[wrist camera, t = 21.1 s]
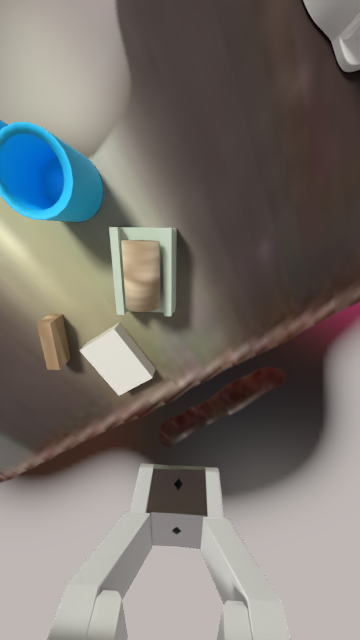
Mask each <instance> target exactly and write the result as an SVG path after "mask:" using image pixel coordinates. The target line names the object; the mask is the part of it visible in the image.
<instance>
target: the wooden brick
mask: <svg viewBox="0 0 360 640" xmlns="http://www.w3.org/2000/svg"><path fill="white" fill-rule="evenodd" d="M37 326H38V331H39V335H40V339H41V344H42V348H43V352H44V357H45V361H46V365H47V369H51V370H60V369H61V368H62V367H63V366H64V365H65V364H66V363H67V362H68V361H69V360H70V359H71V357H70V351H69V346H68V340H67V335H66V330H65V324H64V319H63V315H62V314H50V315H48V316H47V317H45V318H43V319H41V320H40V321H38V322H37Z"/></svg>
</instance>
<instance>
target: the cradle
mask: <svg viewBox="0 0 360 640" xmlns="http://www.w3.org/2000/svg"><path fill="white" fill-rule="evenodd" d="M109 233H110V244H111V255H112V266H113V277H114V288H115V298H116V309H117V315H125V313H126V312H127V311H130V310H128V309H127V308H126V302H125V288H124V273H123V259H122V245H121V241H123V240H153V241H160V308H159V309H157V310H154V311H149V312H164V316H172V313H175V308H176V248H177V228H136V227H109Z"/></svg>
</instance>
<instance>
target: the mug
mask: <svg viewBox="0 0 360 640" xmlns="http://www.w3.org/2000/svg"><path fill="white" fill-rule="evenodd" d="M0 195H1V197H2V198H3V199H4V200H5V201H6V202H7V204H8V205H9V206H10V207H11V208H13V209H14V210H15V211H17V212H18V213H20V214H21V215H23V216H26V217H29V218H32V219H36V220H53V221H69V222H82V221H85V220H88V219H90V218H91V217H92V216H94V215H95V214H96V213H97V211H98V210H99V208H100V206H101V204H102V198H103V185H102V180H101V178H100V175H99V173H98V171H97V169H96V168H95V166H94V165H93V164H92V162H91V161H90V160H89V159H87V158H86V157H85V156H83V155H82V154H81V153H79V152H78V151H76V150H75V149H73V148H72V147H70V146H69V145H67V144H66V143H64V142H63V141H61V140H60V139H58V138H57V137H55V136H54V135H53V134H51V133H50V132H48V131H46V130H45V129H43V128H42V127H39V126H37V125H34V124H32V123H29V122H14V123H12V124H10V125H8V124H6V123H4V122H3V121H1V120H0Z"/></svg>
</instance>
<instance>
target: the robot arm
mask: <svg viewBox="0 0 360 640" xmlns="http://www.w3.org/2000/svg"><path fill="white" fill-rule="evenodd" d="M303 1H304V4H305V6H306V8H307V11H308V12H309V14H310V16H311V17H312V19H313V21H314V22H315V23H316V24H317V26H318V27H319V28H320V29H321V30H322V31H323V32H324V33H325V34H326V35H327V36H328V38H329V39H330V41H331V42H332V46H333V49H334V52H335V56H336V59H337V61H338V64H339V66H340V67H341V69H342V70H343V71H345V72H353V71H357V70H360V0H303ZM152 545H160V546H161V545H162V546H179V547H189V548H199V549H201V553H202V555H203V557H204V560H205V562H206V564H207V567H208V569H209V571H210V573H211V576H212V578H213V581H214V583H215V585H216V587H217V590H218V592H219V594H220V596H221V599H222V601H223V604H224V607H223V611H222V615H221V621H220V626H219V632H218V637H217V640H291V638H290V633H289V629H288V625H287V621H286V617H285V613H284V608H283V604H282V602H281V601H280V599H279V597H278V596H277V594H276V593H275V591H274V589H273V588H272V586H271V585H270V583H269V582H268V580H267V579H266V577H265V575H264V574H263V572H262V571H261V569H260V567H259V566H258V564H257V563H256V561H255V559H254V558H253V556H252V555H251V553H250V552H249V550H248V548H247V547H246V546H245V544H244V542H243V540H242V539H241V537H240V536H239V534H238V533H237V531H236V529H235V528H234V527H233V525H232V523H231V522H230V520H229V519H228V518H224V510H223V501H222V492H221V483H220V474H219V470H218V468H207V467H205V468H204V467H196V466H195V467H194V466H169V465H156V464H141V466H140V469H139V473H138V478H137V482H136V487H135V491H134V496H133V500H132V504H131V509H130V512H127V511H126V512H125V513H124V514H123V516H122V517H121V518H120V519H119V521H118V522H117V523H116V524H115V526H114V527H113V528H112V529H111V531H110V532H109V533H108V534H107V536H106V537H105V538H104V539H103V541H102V542H101V543H100V544H99V545H98V547H97V548H96V549H95V550H94V552H93V553H92V554H91V555H90V557H89V558H88V559H87V560H86V562H85V563H84V564H83V565H82V566H81V568H80V569H79V570H78V572H77V573H76V574H75V575H74V577H73V578H72V579H71V580H70V581H69V583H68V584H67V586H66V589H65V591H64V594H63V597H62V600H61V602H60V605H59V608H58V611H57V614H56V616H55V619H54V622H53V625H52V628H51V630H50V633H49V636H48V639H47V640H127V637H128V636H127V630H126V623H125V617H124V610H123V604H122V599H123V597H124V596H125V594H126V592H127V590H128V589H129V587H130V585H131V584H132V582H133V580H134V578H135V577H136V575H137V573H138V571H139V569H140V568H141V566H142V564H143V562H144V561H145V558H146V557H147V555H148V554H149V552H150V550H151V548H152Z"/></svg>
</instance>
